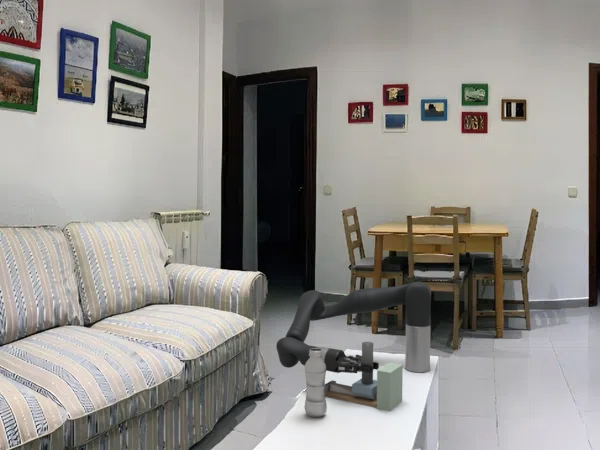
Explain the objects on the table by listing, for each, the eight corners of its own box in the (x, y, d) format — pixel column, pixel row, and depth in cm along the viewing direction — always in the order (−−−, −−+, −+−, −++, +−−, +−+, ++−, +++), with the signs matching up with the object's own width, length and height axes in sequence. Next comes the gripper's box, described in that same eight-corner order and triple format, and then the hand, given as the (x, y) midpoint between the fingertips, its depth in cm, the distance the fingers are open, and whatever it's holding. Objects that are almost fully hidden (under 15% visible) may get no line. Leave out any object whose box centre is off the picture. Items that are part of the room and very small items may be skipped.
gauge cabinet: (387, 398, 182) (387, 362, 182) (402, 401, 180) (402, 364, 179) (374, 407, 174) (375, 370, 173) (390, 411, 171) (390, 372, 171)
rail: (334, 387, 192) (334, 379, 192) (388, 398, 182) (388, 389, 182) (321, 395, 185) (321, 386, 184) (376, 407, 174) (376, 398, 174)
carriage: (362, 388, 186) (363, 339, 185) (382, 392, 182) (382, 342, 181) (351, 396, 179) (352, 344, 178) (371, 400, 175) (372, 347, 175)
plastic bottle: (324, 420, 164) (325, 353, 163) (302, 418, 165) (302, 352, 164) (328, 412, 170) (328, 347, 169) (306, 410, 172) (306, 346, 171)
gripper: (318, 353, 182) (366, 361, 172) (338, 343, 194) (384, 351, 184) (318, 376, 182) (366, 385, 173) (338, 365, 194) (384, 373, 185)
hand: (375, 367), depth 179 cm, fingers closed on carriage, 3 cm apart
